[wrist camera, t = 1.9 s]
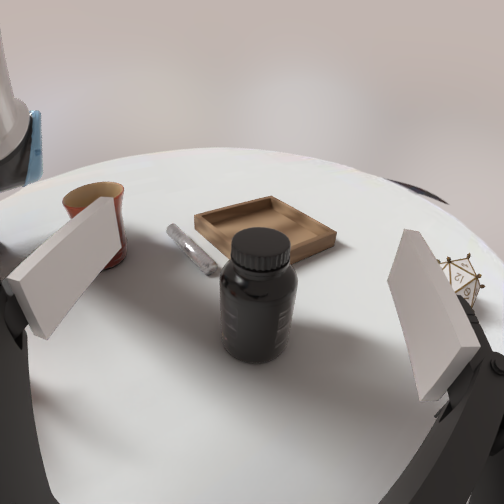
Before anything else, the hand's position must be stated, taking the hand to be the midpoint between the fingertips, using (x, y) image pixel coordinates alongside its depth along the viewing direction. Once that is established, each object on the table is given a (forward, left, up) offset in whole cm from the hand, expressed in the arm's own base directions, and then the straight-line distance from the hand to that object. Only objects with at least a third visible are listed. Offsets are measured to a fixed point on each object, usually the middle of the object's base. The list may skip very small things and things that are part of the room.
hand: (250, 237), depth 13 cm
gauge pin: (-25, +9, -18) cm, 32 cm away
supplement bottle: (-7, +7, -18) cm, 21 cm away
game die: (+5, +31, -18) cm, 36 cm away
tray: (-23, +21, -18) cm, 36 cm away
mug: (-32, -2, -18) cm, 37 cm away
